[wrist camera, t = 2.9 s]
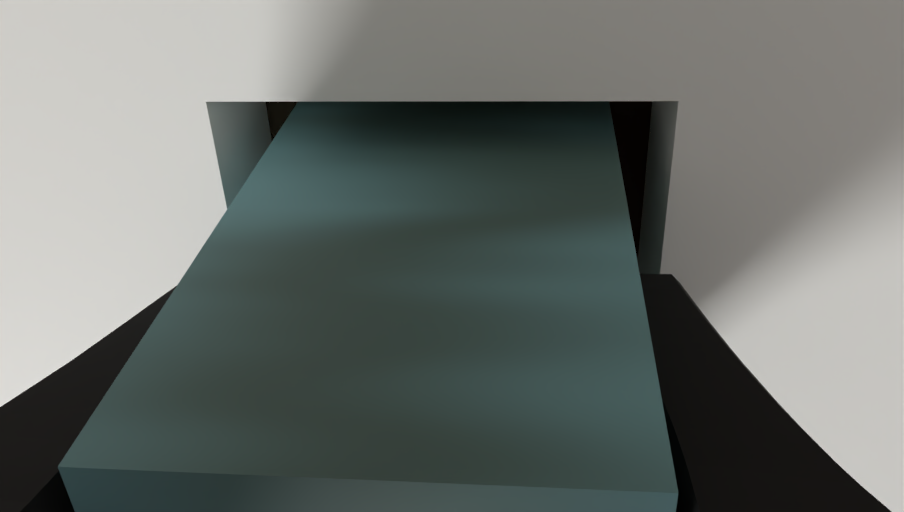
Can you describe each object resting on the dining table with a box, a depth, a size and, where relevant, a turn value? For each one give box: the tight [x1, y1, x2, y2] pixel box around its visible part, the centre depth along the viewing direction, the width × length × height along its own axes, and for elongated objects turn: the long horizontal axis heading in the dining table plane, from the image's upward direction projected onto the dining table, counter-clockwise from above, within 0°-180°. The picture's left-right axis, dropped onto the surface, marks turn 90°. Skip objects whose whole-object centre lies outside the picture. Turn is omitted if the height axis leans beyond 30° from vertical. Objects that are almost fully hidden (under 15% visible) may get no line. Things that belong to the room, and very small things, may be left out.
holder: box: [0, 0, 904, 512], centre depth 12 cm, size 16×14×2 cm
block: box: [58, 101, 678, 512], centre depth 9 cm, size 4×4×7 cm
